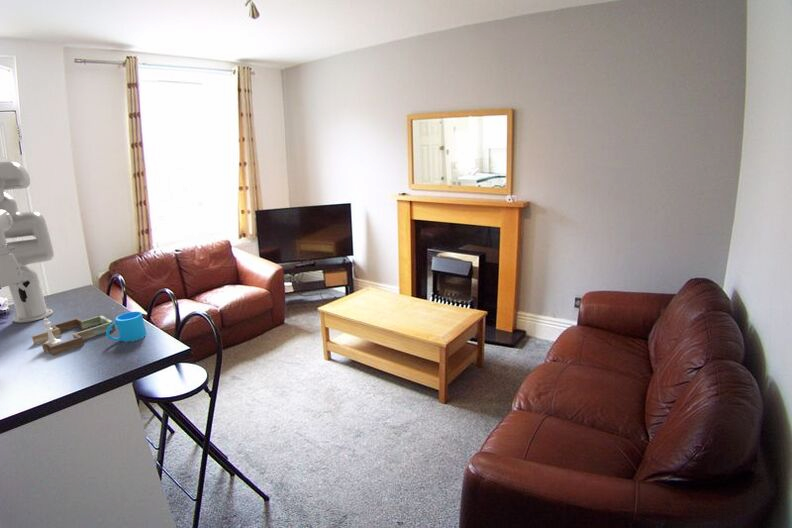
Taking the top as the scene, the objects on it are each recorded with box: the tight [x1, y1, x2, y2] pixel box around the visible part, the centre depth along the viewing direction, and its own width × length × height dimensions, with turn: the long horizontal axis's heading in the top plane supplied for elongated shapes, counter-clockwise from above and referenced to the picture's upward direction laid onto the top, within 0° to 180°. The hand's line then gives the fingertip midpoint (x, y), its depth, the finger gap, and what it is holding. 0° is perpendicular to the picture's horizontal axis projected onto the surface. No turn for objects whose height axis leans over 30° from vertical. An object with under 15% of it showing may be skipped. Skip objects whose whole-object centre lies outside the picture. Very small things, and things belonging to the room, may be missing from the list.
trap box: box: [31, 314, 116, 356], centre depth 160 cm, size 22×22×3 cm
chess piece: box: [43, 317, 63, 345], centre depth 154 cm, size 5×5×10 cm
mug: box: [105, 311, 147, 342], centre depth 156 cm, size 12×8×8 cm
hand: (9, 304), depth 144 cm, fingers open, 6 cm apart
